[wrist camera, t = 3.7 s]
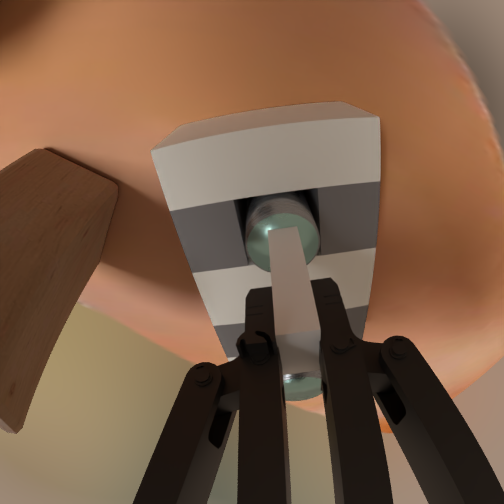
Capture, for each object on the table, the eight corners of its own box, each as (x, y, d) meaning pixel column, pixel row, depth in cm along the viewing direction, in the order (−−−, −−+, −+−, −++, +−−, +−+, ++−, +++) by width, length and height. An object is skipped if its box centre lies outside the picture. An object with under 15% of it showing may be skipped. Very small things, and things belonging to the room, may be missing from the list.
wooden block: (125, 182, 22) (-19, 403, 6) (101, 262, 27) (21, 441, 11) (39, 141, 19) (-127, 287, 3) (29, 224, 24) (-73, 369, 8)
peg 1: (242, 170, 20) (238, 218, 14) (298, 162, 20) (318, 206, 14) (252, 218, 22) (252, 278, 17) (303, 210, 22) (321, 268, 16)
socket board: (180, 125, 19) (150, 150, 14) (341, 101, 18) (379, 117, 12) (238, 324, 32) (236, 377, 26) (343, 310, 31) (357, 361, 25)
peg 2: (264, 304, 23) (267, 381, 17) (314, 297, 23) (329, 372, 17) (270, 333, 25) (274, 403, 20) (314, 327, 25) (326, 397, 19)
